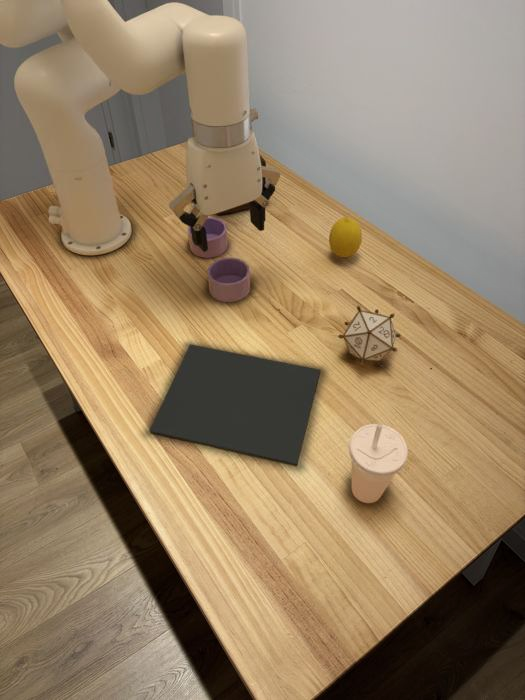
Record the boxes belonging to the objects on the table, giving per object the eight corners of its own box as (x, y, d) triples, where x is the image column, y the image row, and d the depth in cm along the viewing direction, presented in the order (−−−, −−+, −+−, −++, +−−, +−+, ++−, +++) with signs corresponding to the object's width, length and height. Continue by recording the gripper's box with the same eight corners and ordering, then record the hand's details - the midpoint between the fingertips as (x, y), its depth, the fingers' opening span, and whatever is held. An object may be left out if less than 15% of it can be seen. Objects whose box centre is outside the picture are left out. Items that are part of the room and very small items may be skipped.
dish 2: (203, 298, 91) (201, 280, 88) (216, 272, 95) (215, 254, 92) (243, 305, 90) (243, 287, 87) (254, 278, 94) (254, 261, 91)
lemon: (358, 247, 99) (364, 209, 93) (358, 267, 96) (365, 229, 90) (327, 245, 100) (331, 208, 94) (326, 265, 96) (331, 227, 90)
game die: (372, 364, 86) (420, 323, 81) (364, 391, 79) (415, 347, 74) (330, 326, 85) (375, 282, 80) (317, 349, 78) (366, 302, 73)
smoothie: (336, 468, 70) (349, 402, 59) (386, 464, 70) (407, 398, 60) (345, 516, 66) (361, 453, 55) (399, 511, 66) (424, 449, 55)
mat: (149, 432, 73) (149, 430, 73) (190, 346, 84) (189, 344, 83) (296, 466, 70) (297, 464, 70) (320, 371, 80) (320, 369, 80)
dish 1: (184, 254, 98) (182, 237, 96) (197, 232, 103) (195, 214, 100) (221, 260, 97) (219, 243, 94) (232, 237, 102) (231, 220, 99)
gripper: (264, 100, 77) (266, 207, 89) (148, 133, 71) (167, 242, 84) (293, 121, 72) (291, 230, 85) (172, 158, 67) (189, 269, 79)
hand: (230, 236), depth 84 cm, fingers open, 9 cm apart
